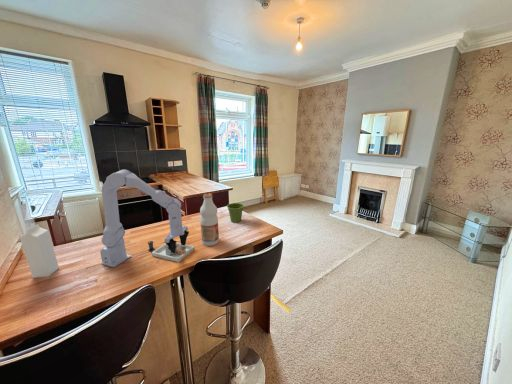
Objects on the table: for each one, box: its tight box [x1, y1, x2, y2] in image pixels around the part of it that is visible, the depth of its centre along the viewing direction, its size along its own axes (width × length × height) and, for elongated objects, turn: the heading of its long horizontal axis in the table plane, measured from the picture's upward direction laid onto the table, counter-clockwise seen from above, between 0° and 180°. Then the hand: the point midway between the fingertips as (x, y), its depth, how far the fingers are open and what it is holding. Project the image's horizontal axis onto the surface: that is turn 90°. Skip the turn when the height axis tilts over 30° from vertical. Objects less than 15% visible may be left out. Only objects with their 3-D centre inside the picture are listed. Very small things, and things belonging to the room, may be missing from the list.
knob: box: [147, 240, 156, 253], centre depth 109 cm, size 3×3×4 cm
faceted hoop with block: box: [165, 244, 186, 256], centre depth 106 cm, size 11×7×3 cm, turn 71°
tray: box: [151, 242, 195, 263], centre depth 107 cm, size 12×16×2 cm
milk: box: [19, 223, 60, 279], centre depth 88 cm, size 6×6×22 cm
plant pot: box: [226, 202, 245, 224], centre depth 145 cm, size 12×12×11 cm
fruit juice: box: [199, 193, 220, 247], centre depth 114 cm, size 9×9×28 cm
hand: (178, 248), depth 105 cm, fingers open, 7 cm apart
